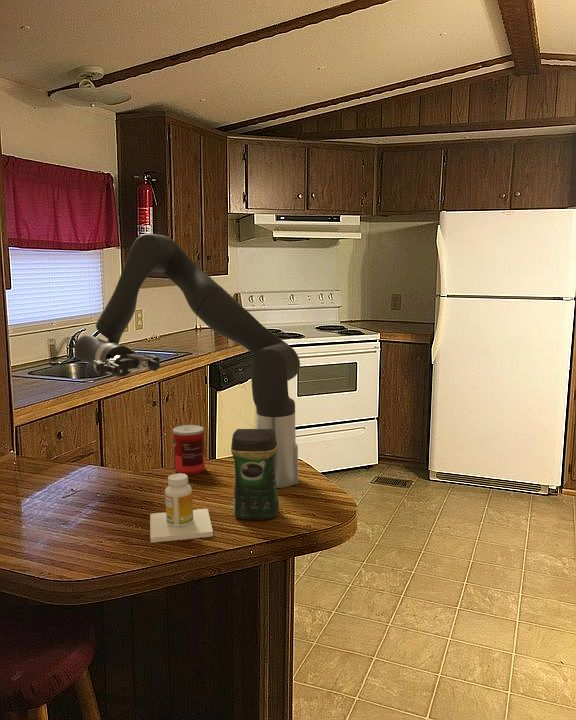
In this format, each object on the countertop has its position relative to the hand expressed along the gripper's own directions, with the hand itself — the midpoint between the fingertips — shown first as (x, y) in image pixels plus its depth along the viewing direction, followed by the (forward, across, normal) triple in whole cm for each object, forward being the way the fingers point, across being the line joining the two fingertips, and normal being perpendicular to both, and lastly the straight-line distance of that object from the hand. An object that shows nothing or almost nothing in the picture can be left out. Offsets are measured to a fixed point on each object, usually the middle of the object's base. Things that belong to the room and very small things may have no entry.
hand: (137, 368), depth 146 cm
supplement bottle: (+20, 0, +29) cm, 35 cm away
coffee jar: (+23, +16, +30) cm, 41 cm away
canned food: (-11, +16, +30) cm, 36 cm away
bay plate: (+20, 0, +30) cm, 36 cm away
